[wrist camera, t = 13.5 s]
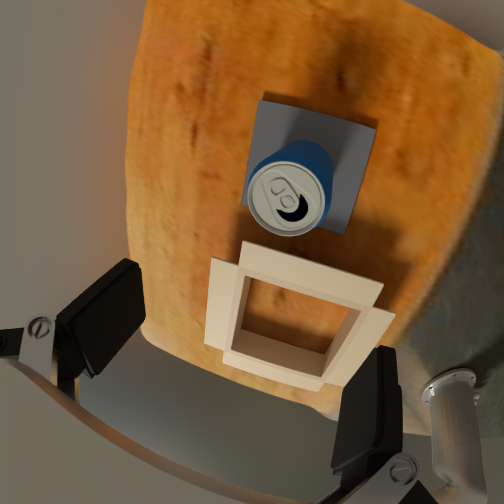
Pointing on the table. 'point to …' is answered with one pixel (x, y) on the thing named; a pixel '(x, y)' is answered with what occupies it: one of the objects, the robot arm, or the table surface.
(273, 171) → the beverage can
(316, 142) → the mat
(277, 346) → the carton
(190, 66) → the table surface
